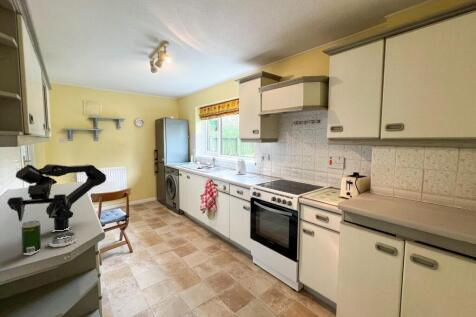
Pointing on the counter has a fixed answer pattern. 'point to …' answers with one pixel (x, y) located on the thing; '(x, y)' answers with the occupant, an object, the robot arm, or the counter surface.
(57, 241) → the duct collar
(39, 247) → the beer can
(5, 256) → the counter surface
